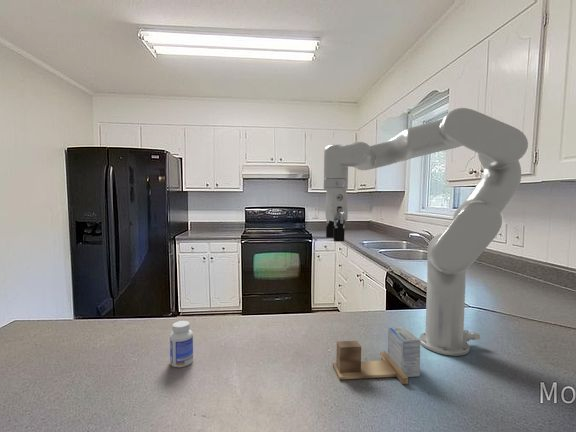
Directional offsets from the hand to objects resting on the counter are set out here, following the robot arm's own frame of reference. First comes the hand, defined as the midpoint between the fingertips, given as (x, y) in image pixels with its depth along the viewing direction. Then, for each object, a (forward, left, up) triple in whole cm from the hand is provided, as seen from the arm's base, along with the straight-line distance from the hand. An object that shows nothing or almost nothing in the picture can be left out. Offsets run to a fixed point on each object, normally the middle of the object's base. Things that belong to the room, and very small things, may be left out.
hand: (334, 239), depth 97 cm
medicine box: (-11, +25, -29) cm, 40 cm away
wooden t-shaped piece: (-1, +26, -28) cm, 38 cm away
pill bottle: (+43, +18, -28) cm, 55 cm away
